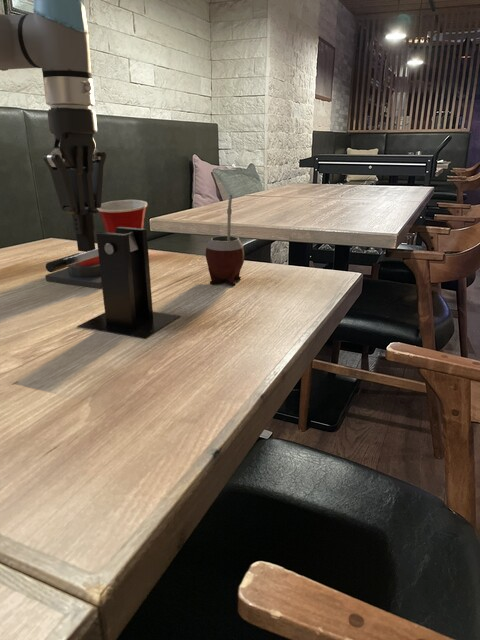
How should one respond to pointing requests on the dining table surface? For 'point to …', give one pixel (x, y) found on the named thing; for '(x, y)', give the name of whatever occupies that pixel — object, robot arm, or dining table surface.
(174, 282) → the dining table surface
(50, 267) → the lever
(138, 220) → the plastic cup
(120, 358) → the dining table surface
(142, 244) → the bracket
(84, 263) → the button
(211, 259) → the mate gourd
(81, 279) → the button box
